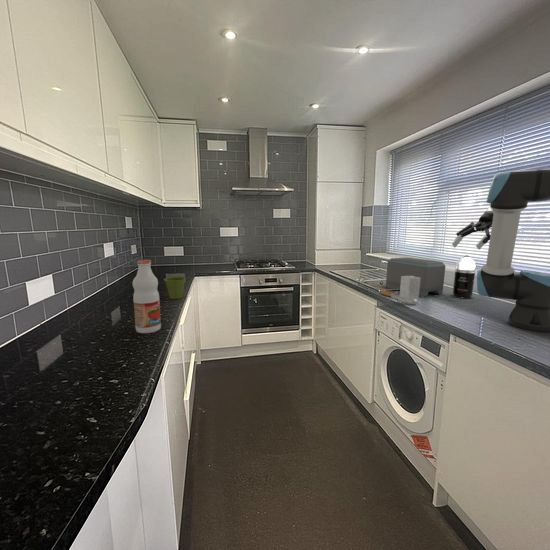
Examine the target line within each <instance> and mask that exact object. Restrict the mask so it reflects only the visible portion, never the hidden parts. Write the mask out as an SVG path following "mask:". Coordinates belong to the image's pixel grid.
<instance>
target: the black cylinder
mask: <svg viewBox="0 0 550 550" xmlns="http://www.w3.org/2000/svg"><path fill="white" fill-rule="evenodd" d="M476 270H477V263H476V261H475V260H474V258H472V257H471V256H470V255H467V254H466V255H464V256H462V257H461V258H459V259H458V260H457V261H456V263H455V270H454V279H453V288H452V289H453V290H452V295H453V297H455V296H456V298H459V297H463V298H462V299H470V298H472V297H473V291H474V284H475V276H476Z"/></svg>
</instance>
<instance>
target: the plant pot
mask: <svg viewBox="0 0 550 550" xmlns="http://www.w3.org/2000/svg"><path fill="white" fill-rule="evenodd" d="M186 280H187V278H186V277H184V276H171V277H166V278H164V279H163V281H164V282H165V285H166V288H167V292H168V295H169V299H170V300H176V299H177V300H180V299H183V297H184V290H185V289H184V288H185V282H186Z"/></svg>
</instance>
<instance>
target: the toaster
mask: <svg viewBox="0 0 550 550" xmlns="http://www.w3.org/2000/svg"><path fill="white" fill-rule="evenodd" d="M386 263H387V264H386V277H385V288H386V289H388V290H389V289H390V290H393V289H398V290H400V285H401V276H415V277H420V278H421V279H420V290H419V297H421V298H425V297H427V296H428V295H429V293H431V294H435V295H439V294H440V295H443V292H444V283H445V274H446V264H445V263H443V261H440V260H439V261H437V260H430V259H423V258H421V259H420V258H415V257H406V256H405V257H392V258H390V259H389V260H387V261H386Z"/></svg>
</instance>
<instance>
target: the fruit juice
mask: <svg viewBox="0 0 550 550" xmlns="http://www.w3.org/2000/svg"><path fill="white" fill-rule="evenodd" d="M151 264H152V260H151V259H139V260H136V265H137V266H138V267H137V273H136V276H135V277H134V278H133V280H132V288H133V290H134V291H133V299H132V300H133V301H132V302H133V310H134V323H135V324H134V325H135V331H136V333H139V334H151V333H156V332H157V331H158V332H159V330H161V328H162V321H161V305H160V303H161V302H160V301H161V300H160V294H159V293H160V292H159V291H158V285H159V280H158V278H157V277H156V276H155V274H154V273H153V270H152V268H151Z"/></svg>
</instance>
